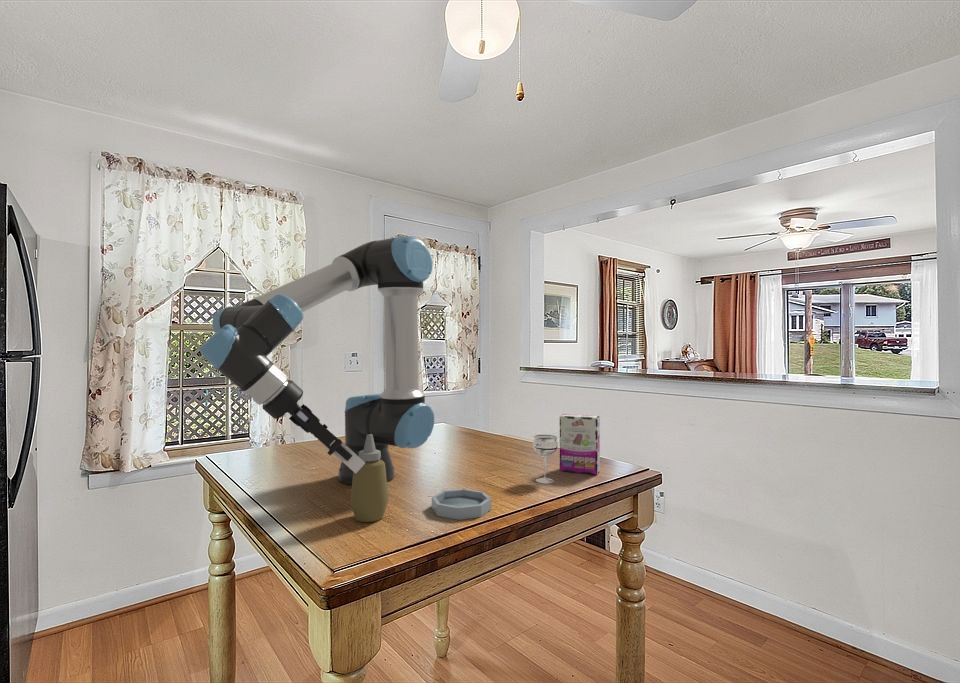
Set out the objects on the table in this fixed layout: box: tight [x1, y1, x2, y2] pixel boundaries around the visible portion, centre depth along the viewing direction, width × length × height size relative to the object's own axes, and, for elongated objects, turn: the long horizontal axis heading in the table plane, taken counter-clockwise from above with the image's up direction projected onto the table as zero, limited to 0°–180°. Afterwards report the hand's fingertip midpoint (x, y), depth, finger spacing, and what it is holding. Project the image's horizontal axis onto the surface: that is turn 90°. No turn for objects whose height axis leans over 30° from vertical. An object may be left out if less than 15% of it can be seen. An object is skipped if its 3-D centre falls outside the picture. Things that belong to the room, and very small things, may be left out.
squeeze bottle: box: [349, 434, 389, 523], centre depth 106 cm, size 8×8×18 cm
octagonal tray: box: [431, 488, 492, 521], centre depth 113 cm, size 13×13×2 cm
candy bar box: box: [559, 413, 601, 475], centre depth 145 cm, size 11×5×16 cm, turn 68°
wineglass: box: [532, 434, 559, 484], centre depth 135 cm, size 7×7×12 cm
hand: (351, 460), depth 104 cm, fingers open, 13 cm apart
